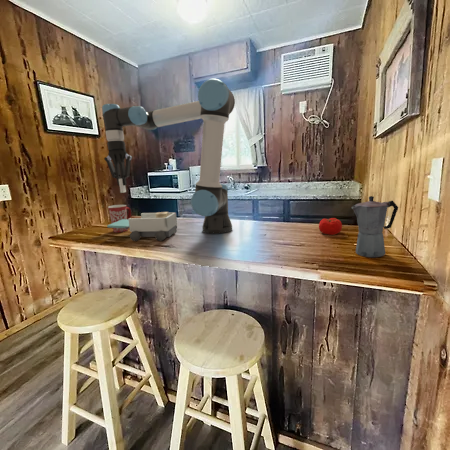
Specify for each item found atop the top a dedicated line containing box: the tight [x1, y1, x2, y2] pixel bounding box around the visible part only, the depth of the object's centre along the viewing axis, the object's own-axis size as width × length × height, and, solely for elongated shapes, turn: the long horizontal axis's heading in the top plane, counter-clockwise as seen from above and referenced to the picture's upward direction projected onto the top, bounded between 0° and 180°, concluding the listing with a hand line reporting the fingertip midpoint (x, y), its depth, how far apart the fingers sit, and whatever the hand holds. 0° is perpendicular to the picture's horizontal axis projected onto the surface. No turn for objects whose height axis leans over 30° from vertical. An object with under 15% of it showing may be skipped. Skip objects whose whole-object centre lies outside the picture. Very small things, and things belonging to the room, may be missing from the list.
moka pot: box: [351, 195, 399, 258], centre depth 87 cm, size 10×15×20 cm, turn 95°
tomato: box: [318, 217, 343, 236], centre depth 116 cm, size 10×11×6 cm
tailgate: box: [107, 219, 130, 230], centre depth 125 cm, size 1×16×11 cm
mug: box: [107, 204, 132, 233], centre depth 137 cm, size 13×9×14 cm
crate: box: [155, 211, 169, 218], centre depth 123 cm, size 5×5×5 cm
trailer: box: [128, 212, 178, 242], centre depth 123 cm, size 18×18×10 cm
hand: (123, 192), depth 123 cm, fingers closed
